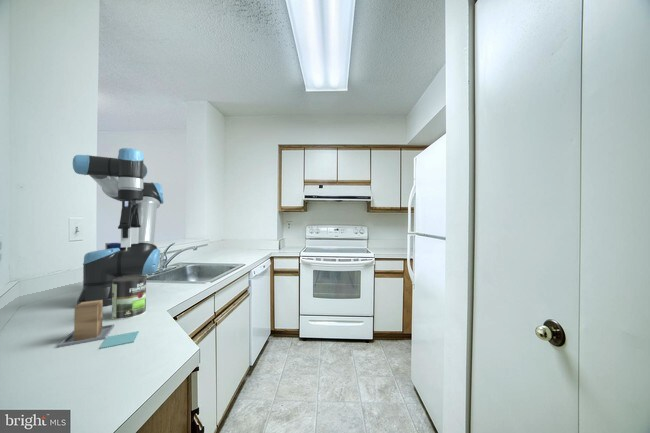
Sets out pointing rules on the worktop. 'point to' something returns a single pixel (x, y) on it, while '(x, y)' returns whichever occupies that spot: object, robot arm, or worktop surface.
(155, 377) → the worktop surface
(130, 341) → the teal pad
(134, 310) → the coffee can
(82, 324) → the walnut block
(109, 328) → the gray tray
